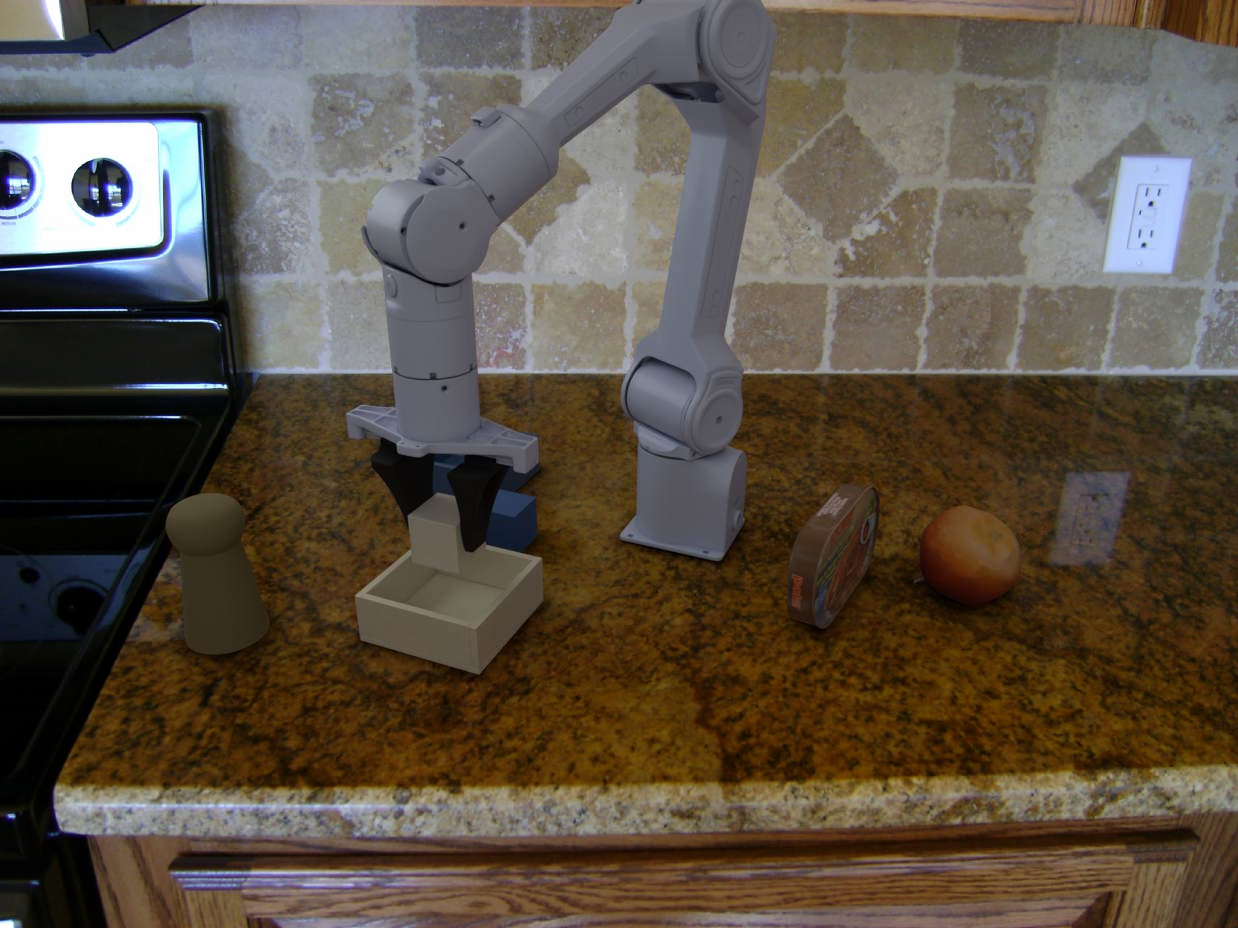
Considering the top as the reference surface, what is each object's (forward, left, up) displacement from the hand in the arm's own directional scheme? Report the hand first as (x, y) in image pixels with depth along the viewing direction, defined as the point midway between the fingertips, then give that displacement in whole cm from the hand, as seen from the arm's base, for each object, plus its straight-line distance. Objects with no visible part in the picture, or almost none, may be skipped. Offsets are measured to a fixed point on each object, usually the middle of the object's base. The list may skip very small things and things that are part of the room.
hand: (448, 539), depth 69 cm
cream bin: (0, 0, -7) cm, 7 cm away
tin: (-26, -15, -7) cm, 31 cm away
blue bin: (+11, -21, -7) cm, 25 cm away
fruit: (-36, -20, -7) cm, 42 cm away
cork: (+15, +8, -7) cm, 18 cm away
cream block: (0, 0, -1) cm, 1 cm away
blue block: (+2, -12, -7) cm, 14 cm away
